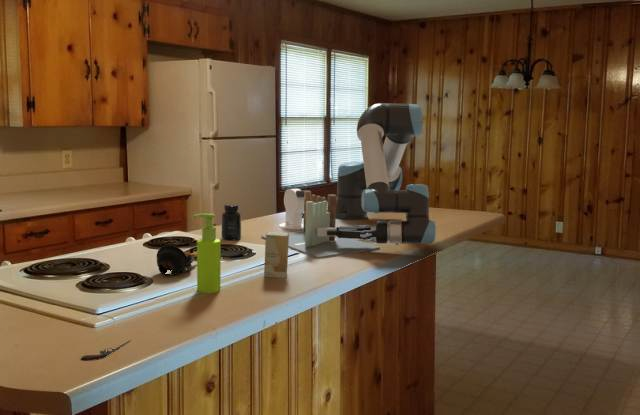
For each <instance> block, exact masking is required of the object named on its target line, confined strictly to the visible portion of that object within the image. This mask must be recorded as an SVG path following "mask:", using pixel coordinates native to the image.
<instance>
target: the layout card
mask: <svg viewBox="0 0 640 415" xmlns="http://www.w3.org/2000/svg"><path fill="white" fill-rule="evenodd" d="M288 233H289V245H288V249H292V250H293V251H297V252H299V253H302V254H305V255H307V256H310V257H313V258H314V259H315V258H316V259H324V258H331V257H337V256H342V255H343V256H344V255H350V254H357V253H363V252H369V251H376V250H380V248H381V247H380V246H376V245H373V244H370V243H367V242H363V241H360V240H358V239H351V238H338V237H337V236H335V240H334V241H326V242H323V243H320V244H317V245H314V246H312V247H305V232H304V231H303V230H301V231H291V232H288ZM261 238H262V239H264V240H266V235H261Z"/></svg>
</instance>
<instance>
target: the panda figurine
mask: <svg viewBox="0 0 640 415" xmlns="http://www.w3.org/2000/svg"><path fill="white" fill-rule="evenodd" d="M304 191H307V190H305V189H301V188H295V187H294V186H285V187H284V196H283V205H284V208H285V209H284V210H285V220H284V222H282V223H280V224H278V227H279V228H281V229H286V230H303V226H304V222H303V221H302V220H303V219H304Z"/></svg>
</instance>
